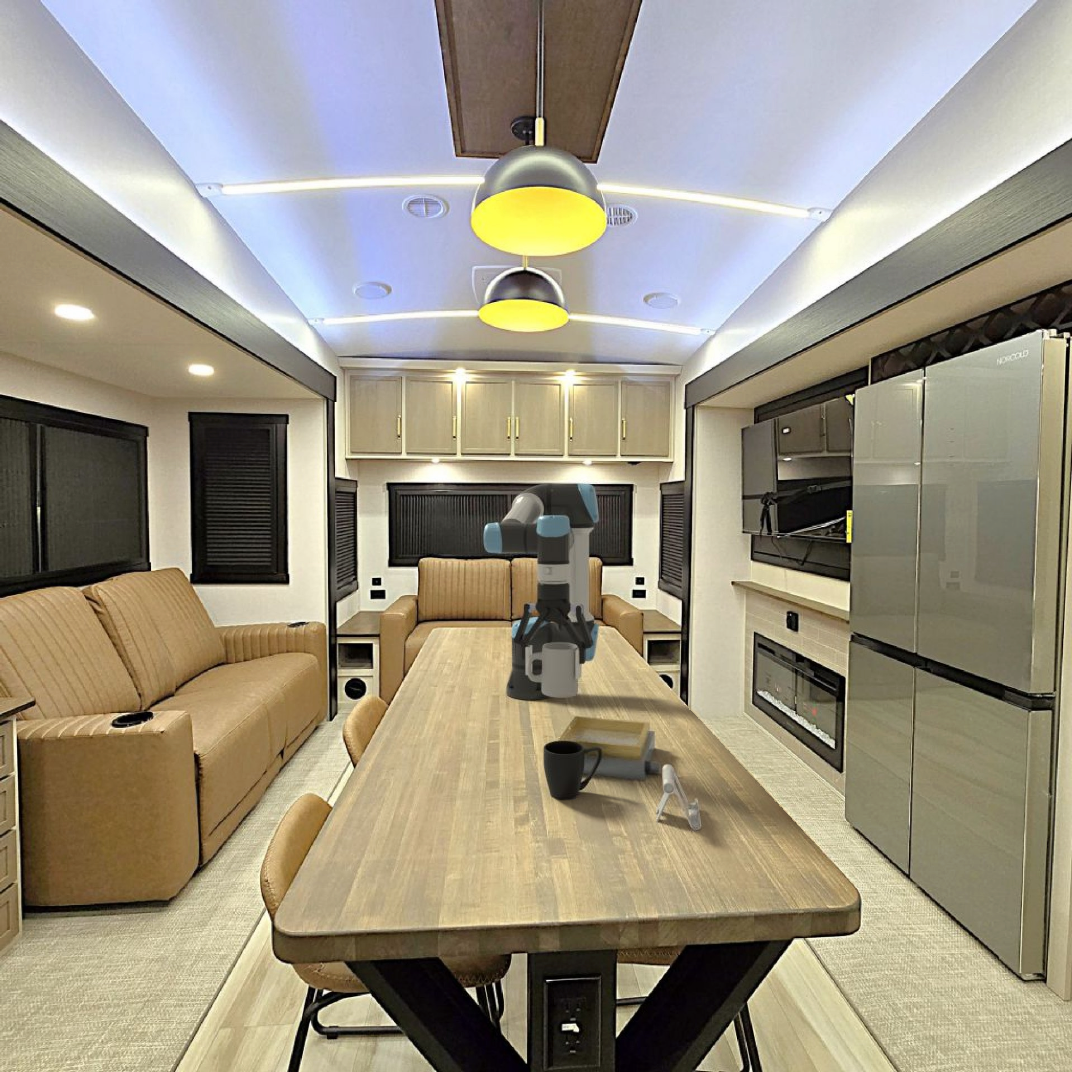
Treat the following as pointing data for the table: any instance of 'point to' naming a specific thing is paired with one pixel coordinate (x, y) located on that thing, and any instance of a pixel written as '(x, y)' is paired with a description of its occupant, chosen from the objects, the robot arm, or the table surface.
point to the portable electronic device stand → (671, 788)
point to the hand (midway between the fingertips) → (553, 675)
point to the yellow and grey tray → (615, 746)
